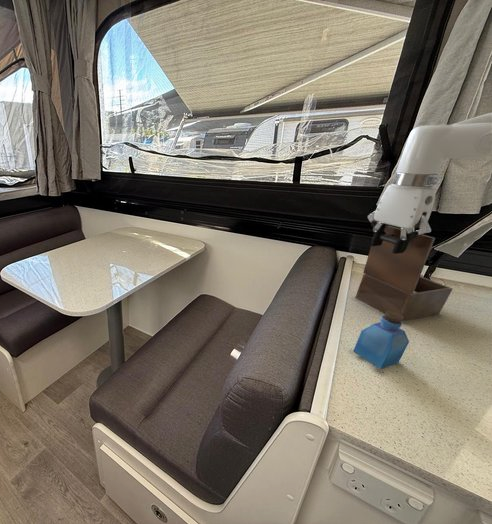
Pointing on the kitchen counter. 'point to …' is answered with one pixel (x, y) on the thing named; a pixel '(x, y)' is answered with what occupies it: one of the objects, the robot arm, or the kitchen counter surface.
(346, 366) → the kitchen counter surface
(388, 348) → the perfume bottle
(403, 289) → the lid
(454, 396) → the kitchen counter surface
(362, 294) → the chest
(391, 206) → the robot arm
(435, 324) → the kitchen counter surface
